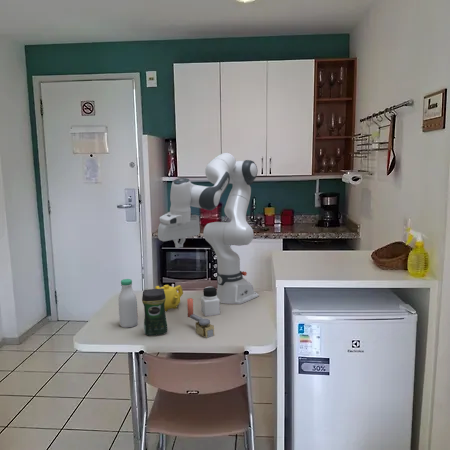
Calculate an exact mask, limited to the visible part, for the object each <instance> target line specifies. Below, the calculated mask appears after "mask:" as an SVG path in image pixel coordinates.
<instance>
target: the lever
mask: <svg viewBox="0 0 450 450" xmlns="http://www.w3.org/2000/svg"><path fill="white" fill-rule="evenodd" d="M186 302H187V318H190V319H191V320H194V321H195V322H199V324H200V325H202V326H206V325H209V324H211V321H210V319H209V318H202V317H200V316H199V315H197V314H195V313H194V299H193V297H192V298H190V297H189V298H187V300H186Z"/></svg>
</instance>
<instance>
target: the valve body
mask: <svg viewBox="0 0 450 450" xmlns="http://www.w3.org/2000/svg"><path fill="white" fill-rule="evenodd" d="M194 324H195V333H196V334H197V335H199V336H201V337H202V338H206V339H207V338H211V337H213V336H215V325H214V324H211V323H210V324H209V325H206V326H202V325H200V324H199V322H198V321H195V323H194Z"/></svg>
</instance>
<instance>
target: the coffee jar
mask: <svg viewBox="0 0 450 450" xmlns="http://www.w3.org/2000/svg"><path fill="white" fill-rule="evenodd" d="M160 288H161V287H160ZM165 300H166V296H165V292H164V289H163V288H161V289H155V288H151V289H143V290H142V296H141V301H142V305H143V311H144V313H143V314H144V316H143V317H144V320H143V332H144V334H145V335H146V336H148V337H149V336H162V335H165V334H167V333H168V331H169V330H168V322H167V317H166V316H167V315H166V312H165V305H164V304H165Z"/></svg>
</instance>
